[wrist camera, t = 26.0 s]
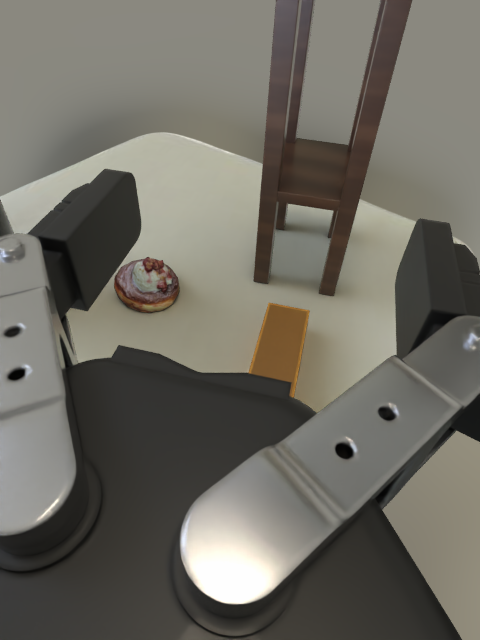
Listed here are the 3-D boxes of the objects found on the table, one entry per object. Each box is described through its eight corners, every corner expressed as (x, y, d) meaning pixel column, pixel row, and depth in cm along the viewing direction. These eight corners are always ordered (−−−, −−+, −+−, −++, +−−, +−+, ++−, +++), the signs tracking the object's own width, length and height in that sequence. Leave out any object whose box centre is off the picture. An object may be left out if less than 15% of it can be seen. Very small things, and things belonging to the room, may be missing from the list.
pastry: (182, 311, 49) (179, 277, 45) (115, 317, 48) (106, 283, 44) (177, 267, 55) (174, 234, 51) (116, 272, 53) (109, 239, 50)
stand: (333, 296, 52) (425, -51, 29) (253, 281, 53) (280, -61, 30) (341, 232, 61) (415, -66, 38) (273, 221, 63) (305, -74, 40)
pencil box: (268, 530, 33) (271, 516, 31) (211, 516, 33) (211, 500, 31) (305, 329, 48) (310, 309, 46) (266, 321, 48) (268, 301, 46)
